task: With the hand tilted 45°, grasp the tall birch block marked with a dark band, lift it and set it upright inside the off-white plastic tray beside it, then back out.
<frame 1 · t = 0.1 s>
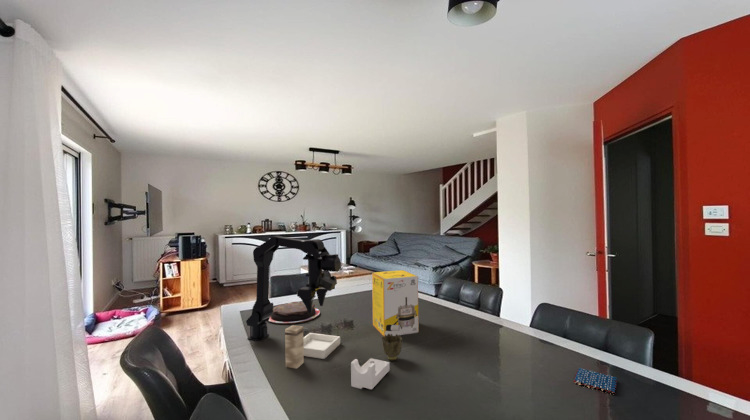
hand: (315, 309, 129), 15 cm above the table, tool pointing down, fingers open, 9 cm apart
chocolate cake: (293, 316, 167), on the table
cup: (392, 359, 115), on the table
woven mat: (594, 384, 98), on the table
packaging box: (394, 329, 146), on the table
bracket: (371, 380, 102), on the table
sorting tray: (316, 348, 125), on the table
birch block: (294, 364, 112), on the table
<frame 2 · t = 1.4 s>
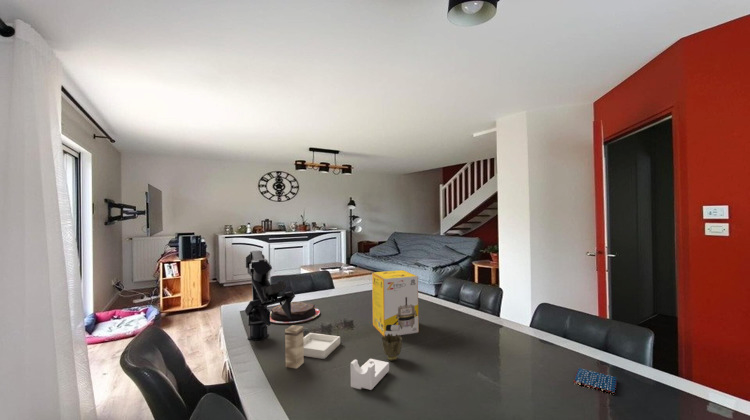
hand: (280, 321, 117), 14 cm above the table, tool tilted 45°, fingers open, 9 cm apart
nothing on the table moved.
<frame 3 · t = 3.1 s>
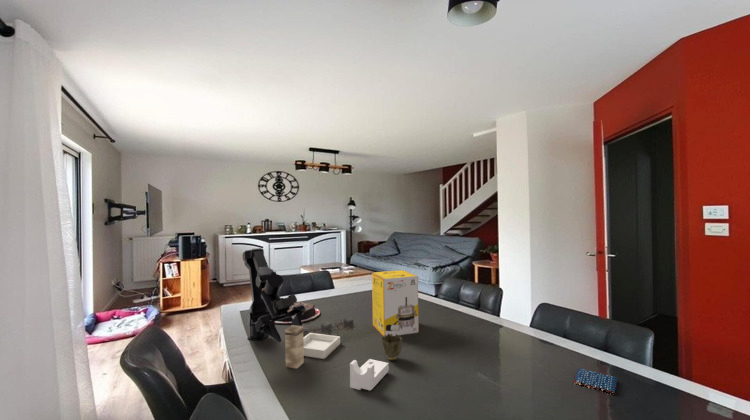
hand: (291, 337, 113), 9 cm above the table, tool tilted 45°, fingers open, 9 cm apart
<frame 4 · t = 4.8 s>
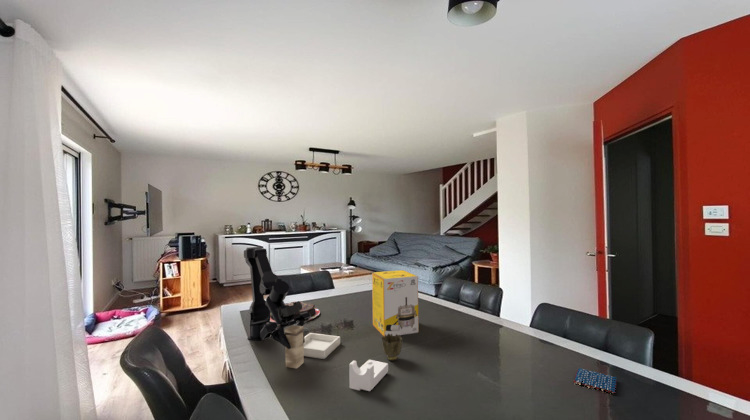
hand: (297, 345, 112), 7 cm above the table, tool tilted 45°, fingers closed on birch block, 6 cm apart
birch block: (294, 364, 112), on the table, touching gripper
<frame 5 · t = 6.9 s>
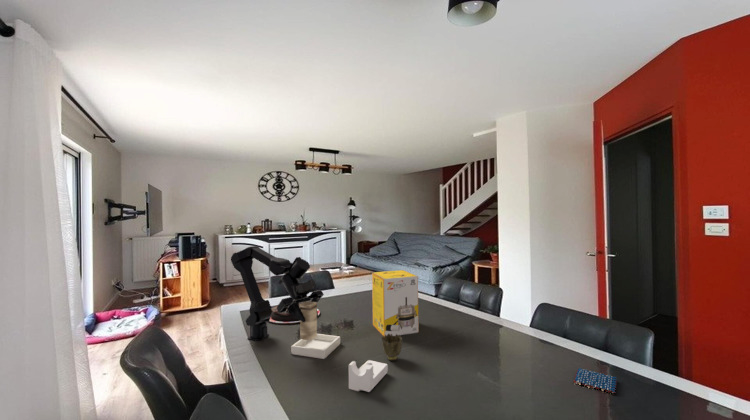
hand: (310, 319, 120), 13 cm above the table, tool tilted 45°, fingers closed on birch block, 6 cm apart
birch block: (308, 337, 121), point 6 cm above the table, touching gripper
when the fingers open (9 cm above the table, at t = 9.1 s): birch block drops 1 cm, resting on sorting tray.
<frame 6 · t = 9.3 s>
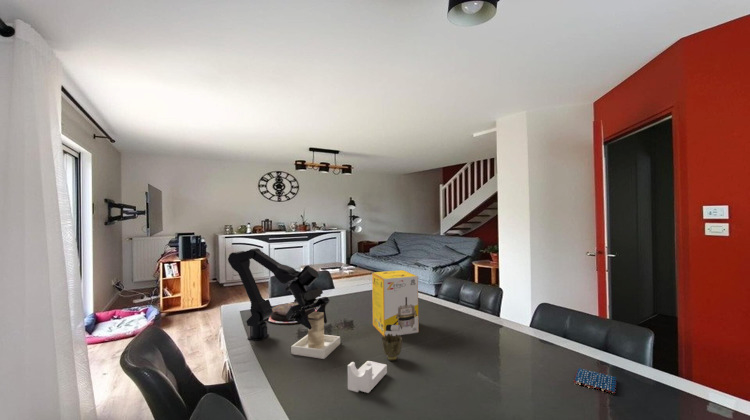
hand: (318, 325, 125), 9 cm above the table, tool tilted 45°, fingers open, 8 cm apart
birch block: (316, 346, 125), point 1 cm above the table, touching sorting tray
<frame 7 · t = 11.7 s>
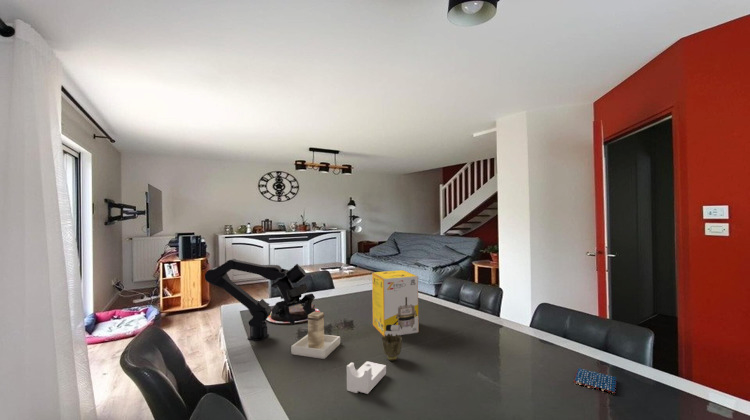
hand: (303, 320, 130), 9 cm above the table, tool tilted 45°, fingers open, 9 cm apart
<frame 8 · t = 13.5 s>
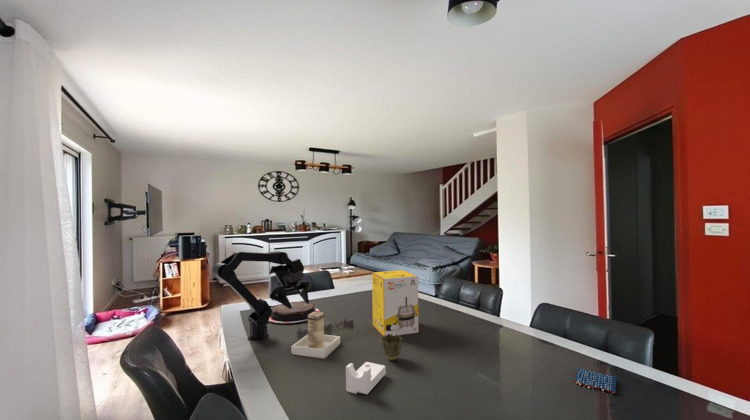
hand: (299, 305, 138), 14 cm above the table, tool tilted 45°, fingers open, 9 cm apart
at the end: birch block inside the target area on the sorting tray (0.1 cm from its centre), point 0.8 cm above the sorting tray's base; birch block tilted 0°; the gripper is holding nothing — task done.
